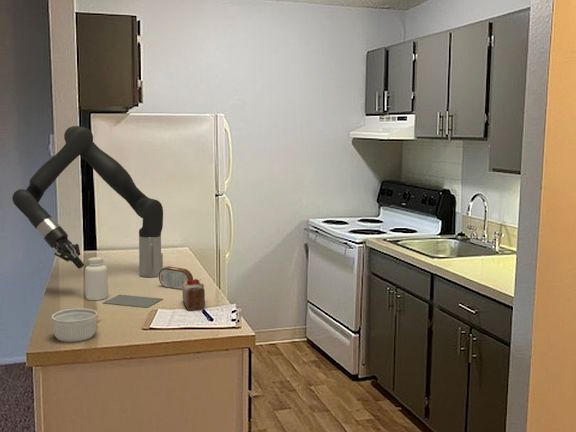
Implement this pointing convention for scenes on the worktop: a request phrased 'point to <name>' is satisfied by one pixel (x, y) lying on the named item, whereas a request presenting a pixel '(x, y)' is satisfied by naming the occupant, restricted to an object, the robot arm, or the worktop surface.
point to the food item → (193, 295)
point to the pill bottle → (96, 279)
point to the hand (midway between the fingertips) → (81, 266)
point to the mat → (133, 301)
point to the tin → (174, 277)
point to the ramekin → (74, 324)
